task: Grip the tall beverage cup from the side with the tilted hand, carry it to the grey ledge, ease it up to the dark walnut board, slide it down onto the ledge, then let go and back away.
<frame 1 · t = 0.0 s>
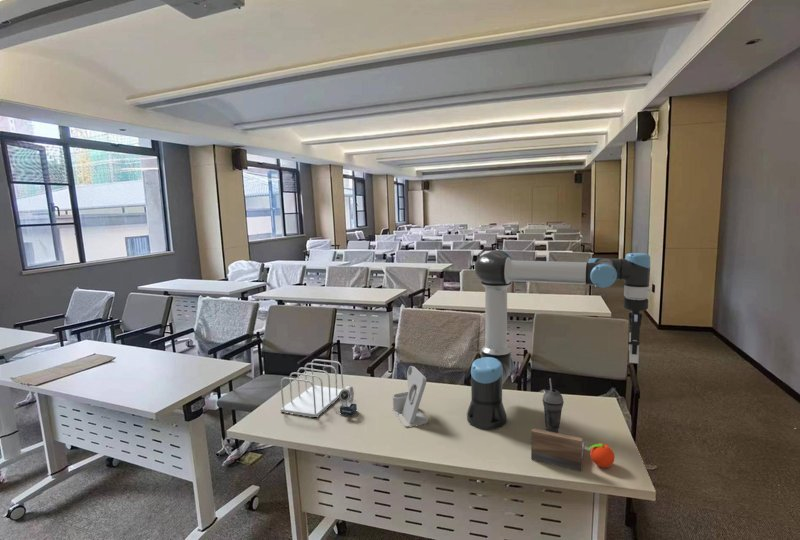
hand: (633, 356, 152), 28 cm above the table, tool pointing down, fingers open, 13 cm apart
beverage cup: (552, 431, 157), on the table
file sorter: (314, 403, 187), on the table
webcam: (348, 413, 176), on the table
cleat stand: (558, 452, 143), on the table
clementine: (600, 465, 136), on the table
phone holder: (409, 416, 172), on the table
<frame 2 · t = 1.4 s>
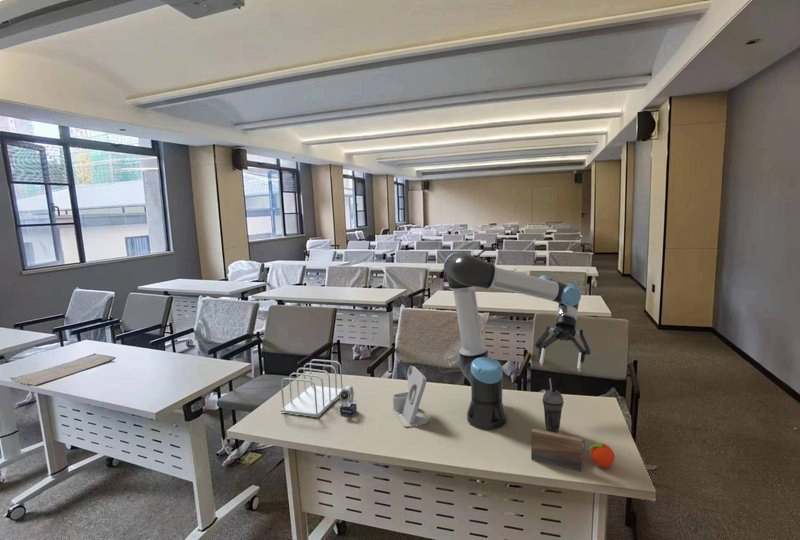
hand: (559, 367, 163), 21 cm above the table, tool tilted 45°, fingers open, 13 cm apart
nothing on the table moved.
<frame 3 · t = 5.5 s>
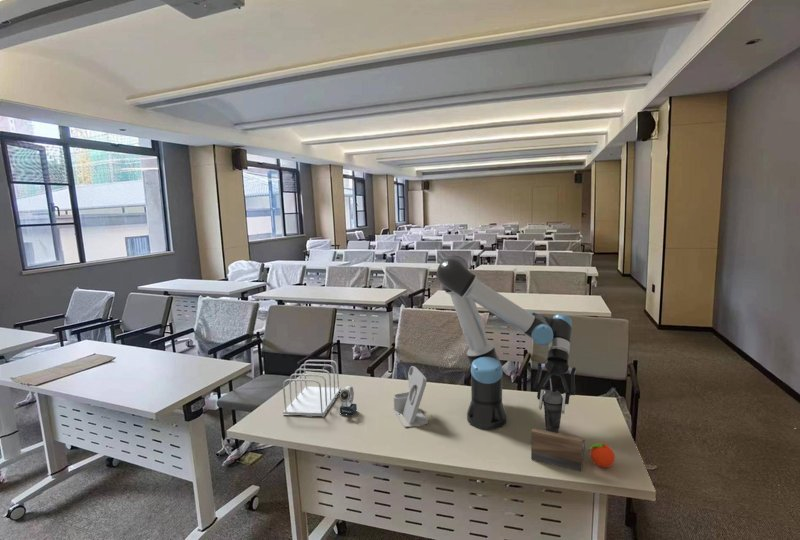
hand: (551, 410, 153), 10 cm above the table, tool tilted 45°, fingers closed on beverage cup, 7 cm apart
beverage cup: (552, 430, 157), on the table, touching gripper
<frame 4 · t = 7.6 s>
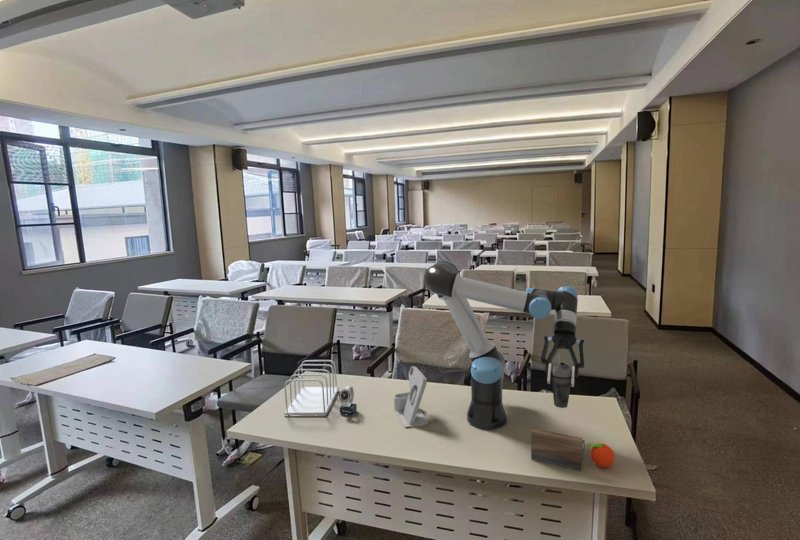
hand: (560, 383, 148), 21 cm above the table, tool tilted 45°, fingers closed on beverage cup, 7 cm apart
beverage cup: (560, 405, 152), point 11 cm above the table, touching gripper
when the fingers open (14 cm above the table, at t = 9.9 s): beverage cup drops 1 cm, resting on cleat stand.
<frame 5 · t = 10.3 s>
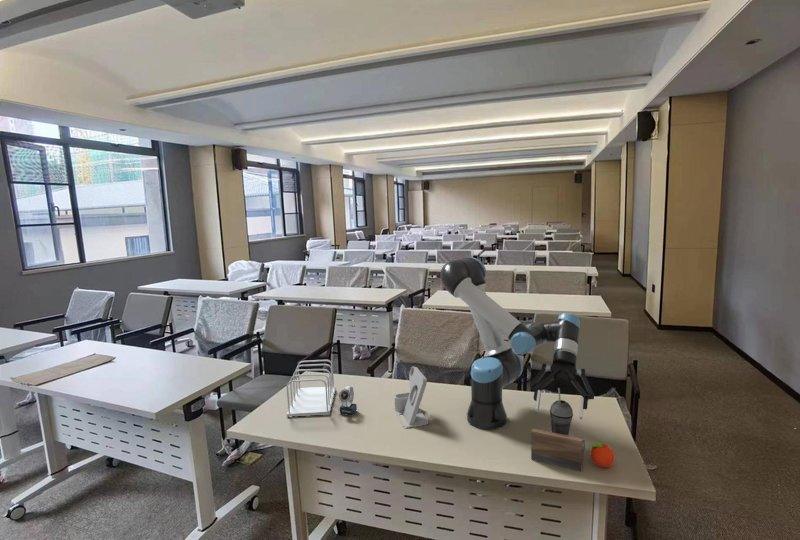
hand: (558, 414, 138), 15 cm above the table, tool tilted 45°, fingers open, 13 cm apart
beverage cup: (559, 445, 142), point 3 cm above the table, touching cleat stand
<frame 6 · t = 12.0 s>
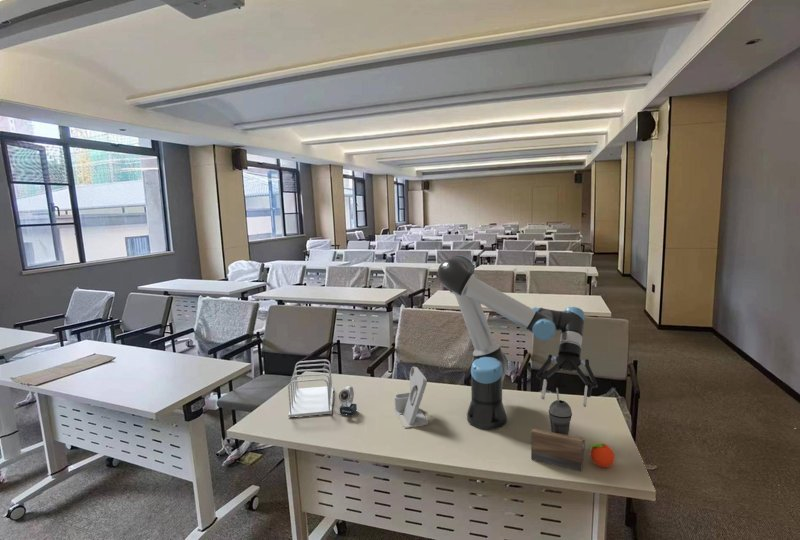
hand: (563, 401, 147), 15 cm above the table, tool tilted 45°, fingers open, 13 cm apart
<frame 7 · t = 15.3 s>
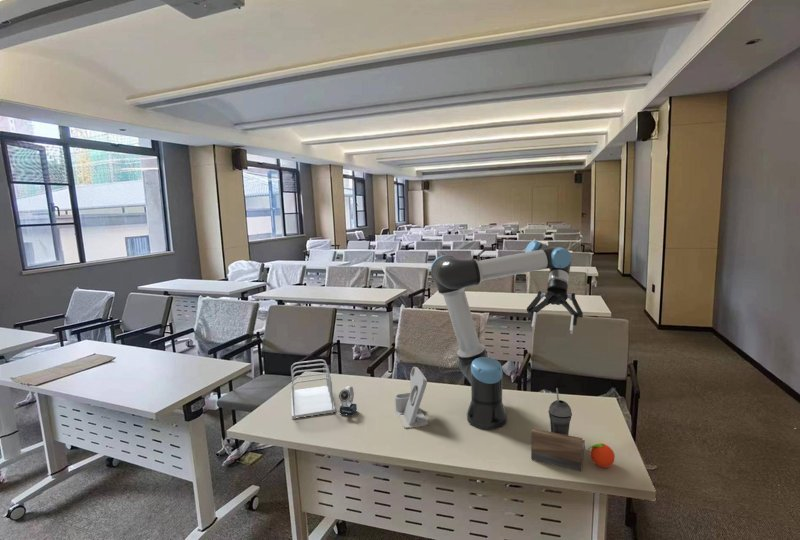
hand: (551, 330, 160), 36 cm above the table, tool tilted 45°, fingers open, 13 cm apart
at the end: beverage cup inside the target area on the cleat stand (0.4 cm from its centre), point 2.8 cm above the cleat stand's base; beverage cup tilted 0°; the gripper is holding nothing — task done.
